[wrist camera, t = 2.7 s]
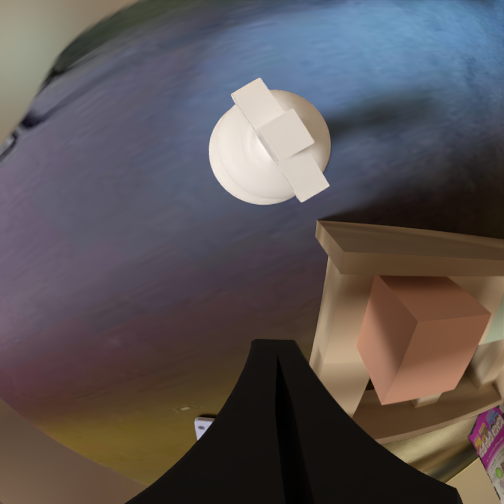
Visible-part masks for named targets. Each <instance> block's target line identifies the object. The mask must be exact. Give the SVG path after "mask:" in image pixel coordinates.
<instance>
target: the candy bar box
mask: <svg viewBox="0 0 504 504" xmlns="http://www.w3.org/2000/svg"><path fill="white" fill-rule="evenodd" d="M469 440H470V442H471V443H472V445H473V447H474V449H475V451H476V453H477V455H478V456H479V458H480V460H481V462H482V464H483V466H484V468H485V470H486V472H487V474H488V476H489V478H490V480H491V482H492V484H493V486H494V488H495V491H496V492H497V495H498V497H499V499H500V502H501V504H504V402H503V403H502V404H500V405H498V406H496V407H494V408H491V409H489V410H487V411H485V412H483V413H480V414H479V416H478V418H477V421H476V423H475V425H474V427H473V429H472V431H471V433H470V435H469Z"/></svg>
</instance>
